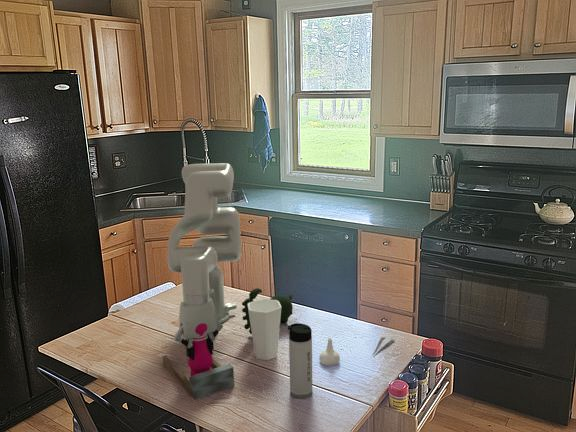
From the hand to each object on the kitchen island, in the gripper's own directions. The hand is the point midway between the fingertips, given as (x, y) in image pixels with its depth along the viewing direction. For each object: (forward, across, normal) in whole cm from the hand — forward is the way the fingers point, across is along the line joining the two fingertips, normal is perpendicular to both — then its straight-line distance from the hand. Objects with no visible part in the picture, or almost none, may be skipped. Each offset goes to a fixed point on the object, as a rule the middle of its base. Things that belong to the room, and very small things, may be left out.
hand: (200, 354), depth 149 cm
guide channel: (+8, 0, -4) cm, 9 cm away
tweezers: (+9, -55, +17) cm, 58 cm away
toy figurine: (+8, -34, -17) cm, 39 cm away
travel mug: (+8, -20, +22) cm, 31 cm away
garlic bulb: (+8, -37, +13) cm, 40 cm away
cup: (+8, -23, -2) cm, 24 cm away
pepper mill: (+7, 0, 0) cm, 7 cm away
